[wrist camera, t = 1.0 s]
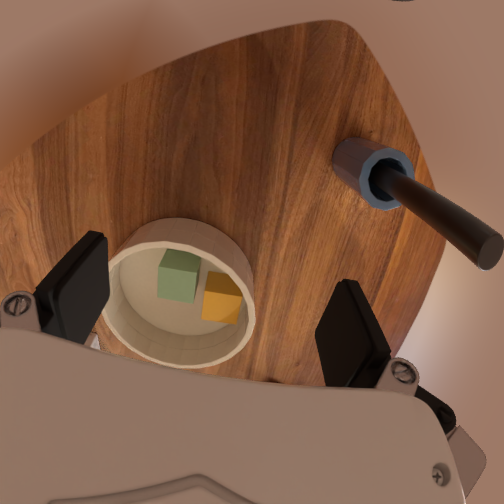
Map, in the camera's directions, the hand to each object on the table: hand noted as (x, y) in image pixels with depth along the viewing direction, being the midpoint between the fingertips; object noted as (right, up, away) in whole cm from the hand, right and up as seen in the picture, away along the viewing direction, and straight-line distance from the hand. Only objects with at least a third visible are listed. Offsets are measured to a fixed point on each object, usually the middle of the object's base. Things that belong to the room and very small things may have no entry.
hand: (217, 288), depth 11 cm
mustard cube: (-2, -3, +23) cm, 24 cm away
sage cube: (-7, 0, +22) cm, 23 cm away
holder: (+12, +11, +17) cm, 24 cm away
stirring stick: (+12, +11, +17) cm, 23 cm away
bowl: (-7, -3, +24) cm, 25 cm away
